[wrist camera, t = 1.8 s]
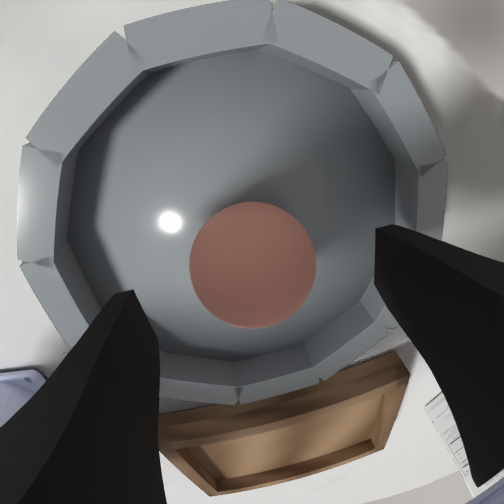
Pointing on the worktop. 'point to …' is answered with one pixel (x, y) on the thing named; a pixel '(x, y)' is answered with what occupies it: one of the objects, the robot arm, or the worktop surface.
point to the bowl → (227, 185)
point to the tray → (287, 430)
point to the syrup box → (455, 442)
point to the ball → (252, 265)
